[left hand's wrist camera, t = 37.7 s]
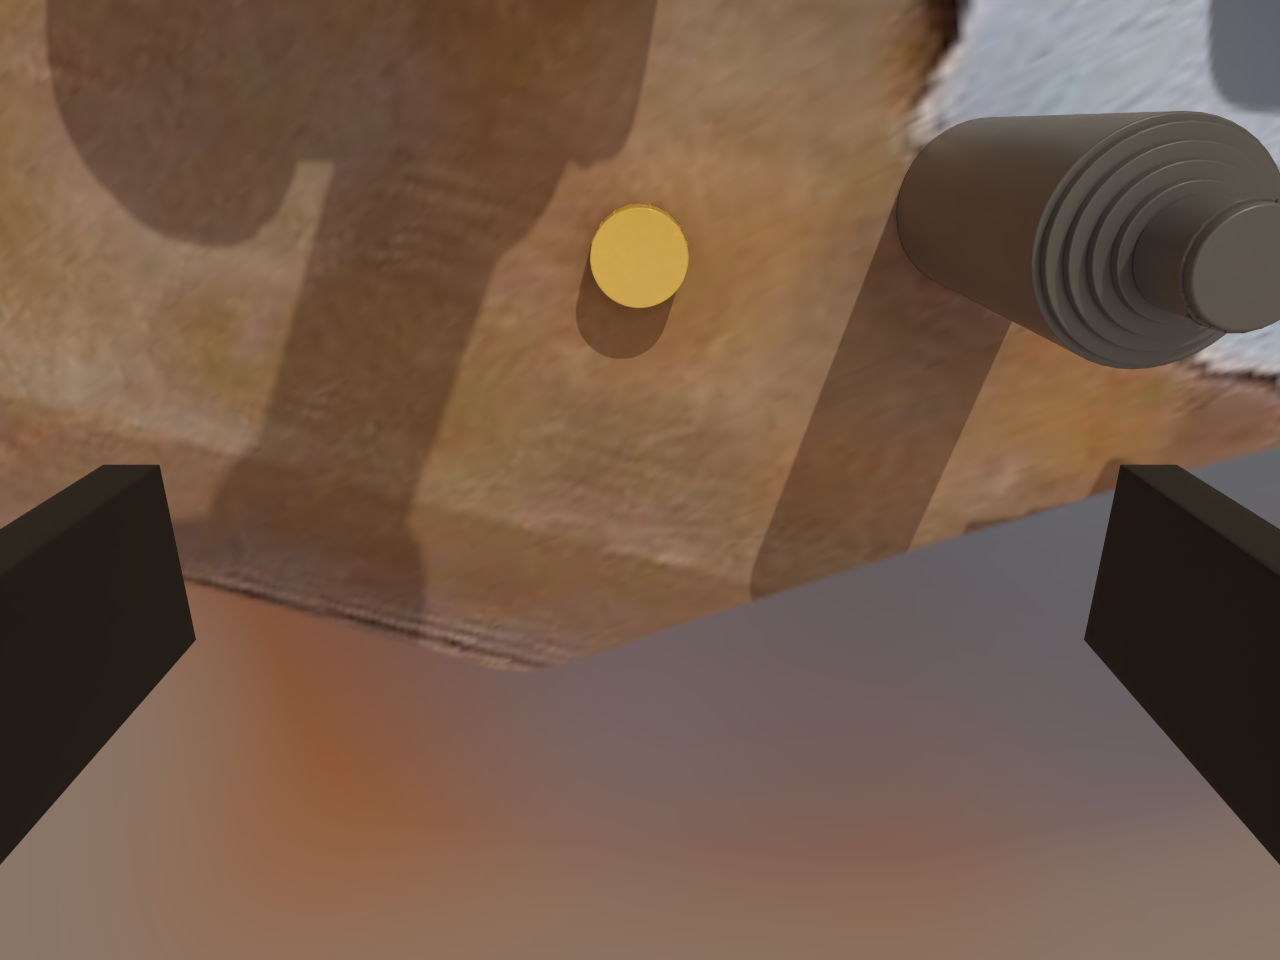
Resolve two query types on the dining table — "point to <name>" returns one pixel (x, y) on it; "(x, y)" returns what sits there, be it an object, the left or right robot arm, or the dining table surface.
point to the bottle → (1102, 228)
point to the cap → (639, 256)
